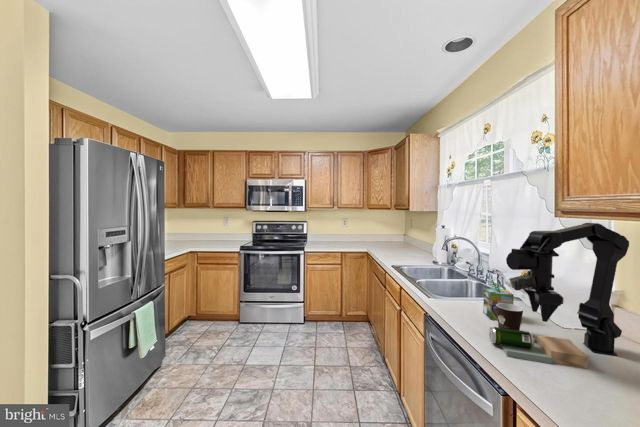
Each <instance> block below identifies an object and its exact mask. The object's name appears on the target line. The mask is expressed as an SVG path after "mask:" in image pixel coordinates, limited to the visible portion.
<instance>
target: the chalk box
mask: <svg viewBox="0 0 640 427" xmlns="http://www.w3.org/2000/svg"><path fill="white" fill-rule="evenodd" d="M493 286H494V287H493V288H492V287H491V288H490V287H488V288H487V287H484V288H483V308H482V309H483V310H482V311H483V312H482V313H484V315H486V317H487V318H488V319H489V320H492V321H498V319H497V318H496V316H495V315H494V313H493V311H492V305H496V304H499V303H506V304H512V305H514V302H515V300H514V298H515V297H514V294H513V293H511V292H510V291H509V290H507V289H505V288H500V285H499V284H498V283H497V282H495V281H494V282H493ZM493 310H494V312H495V314H496V315H497V307H496V306H494V308H493Z"/></svg>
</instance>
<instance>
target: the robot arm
mask: <svg viewBox="0 0 640 427" xmlns="http://www.w3.org/2000/svg"><path fill="white" fill-rule="evenodd" d="M585 238H586V240H587V241H588V242H590V243H591V244H592V252H593V253H594V256H595V258H596V261H595V267H594V271H593V276H592V278H593V279H592V281H591V288H590V292H589V296H588V297H589V298H588V299H587V300H586V301H585V302H584V303H583V302H580V303H579V305H578V311H577V313H576V314H578V316H577V317H578V320H579V322H580V324H581V327H582V328H584V329H586V332H585V333H583V334H584V336H583V337H584V338H583V345H584V347H586V348H587V349H588V350H590V351H591V352H593V353H598V354H603V355H604V354H606V355H610V356H611V355H612V356H618V354H617V352H615V339H617V338H620V337H622V336H621V335H622V332H623V330H622V329H621V327H619V326H618V325H617V324H616V322H614V321H615V313H614V311H613V310H612V308H611V305H610V303H611V297H612V293H613V292H612V291H613V286H614V282H615V278H616V277H615V276H616V271H617V266H618V262H620V261H621V260H622V259H623V258H624V257H625V256H626V255H627V252H628V250H629V247H630V240H628V238H627V237H626V236H625V235H621V234H620V233H618V232H616V231H614V230H612V229H609V228H607V227H605V225H603V224H601V223H598V222H597V223H595V222H585V223H582V224H578V225H574V226H570V227H565V228H560V229H556V230H533V231H531V232H529V233H528V236H527V238H526V239H525V240H524V242H523V243H522V244H521V245H520V247H519V248H511V251H510V252H509V253H508V254H507V257H506V261H505V262H506V264H507V267H508V268H509V269H510V270H513V271H525V270H527V272H526V274H525V275H519V276H518V275H517V276H514V277H510V278H508V279H509V282H510V285H511V287H512V289H514V291H520V290H523V291H524V293H526V294H527V295H528V298H529V302H530V306H531V311H532V312H533V313H537V311H538V309H539V308H540V314H541V321H543V322H544V323H547V322H548V321H549V319H550V318H551V316H552V315H553V314H554V312H555V311H556V310H558V308H559V307H560V306H562V305H564V296H562V295H561V294H560V293H558V292H557V291H555V287H554V286H552V281H553V280H552V279H555V274H553V260H554V258H553V257H557V258H558V257H560V254H559V253H557V251H555V249H558V248H560V247H561V246H562V245H563V244H565V243H569V242H571V241H576V240H580V239H581V240H582V239H585Z"/></svg>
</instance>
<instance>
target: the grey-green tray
mask: <svg viewBox="0 0 640 427" xmlns="http://www.w3.org/2000/svg"><path fill="white" fill-rule="evenodd" d="M533 338H534V347H533V348H531V349H528V348H521V347H515V346H508V345H502V344H499V345H500V347H501V348H502V349H503V352H504V354H505V357H510V358H516V359H521V360H527V361H528V360H529V361H535V362H538V363H539V362H540V363H546V364H553V362H552V357H551V356H547V355H546V354H545V353H544V351H543V350H542V349H541V348H540V346H539V345H538V344H537V338H536V337H533Z"/></svg>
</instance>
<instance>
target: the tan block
mask: <svg viewBox="0 0 640 427" xmlns="http://www.w3.org/2000/svg"><path fill="white" fill-rule="evenodd" d="M536 339H537V344H538V345H539V346H540V348H541V349H542V350H543V351H544V353H545V354H546V355H547V356H551V357H552V364H554V363H555V364H561V365H566V366H571V367H572V366H573V367H579V368H582V369H584V368H585V369H587V368H588V356H587V355H586V354H585V353H584V352H583V351H582V350H581V349H580V348H579V347H578V346H577V345H576V344H575V343H573V342H572V341H571V340H570V339H567V338H561V337H553V336H547V335H542V334H541V335H539V334H537V336H536Z"/></svg>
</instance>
